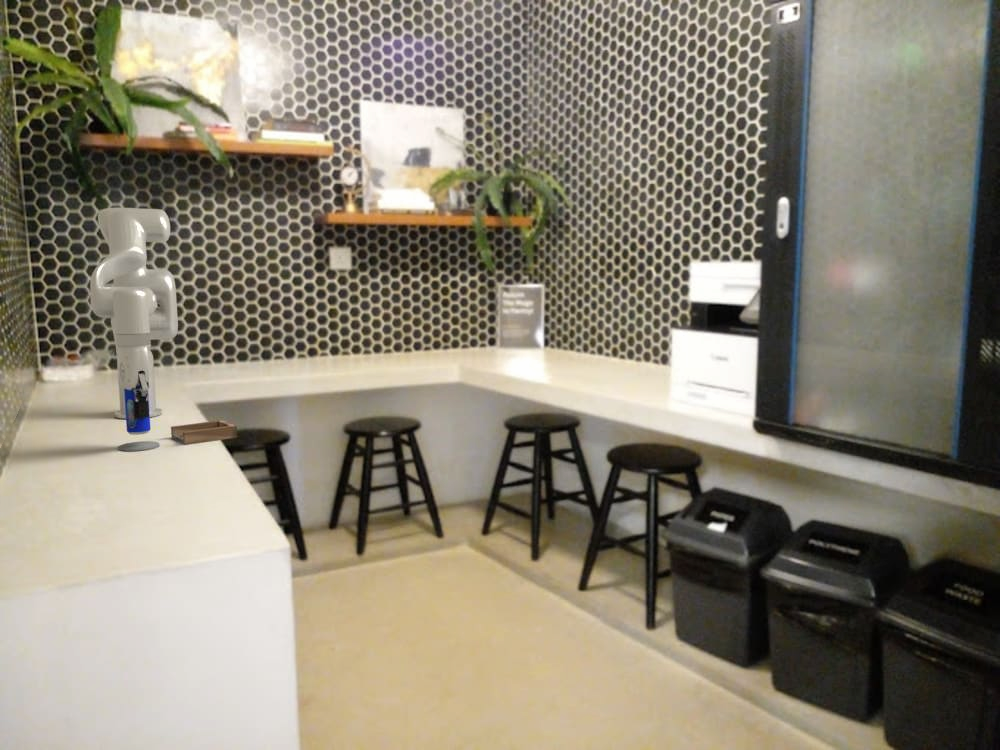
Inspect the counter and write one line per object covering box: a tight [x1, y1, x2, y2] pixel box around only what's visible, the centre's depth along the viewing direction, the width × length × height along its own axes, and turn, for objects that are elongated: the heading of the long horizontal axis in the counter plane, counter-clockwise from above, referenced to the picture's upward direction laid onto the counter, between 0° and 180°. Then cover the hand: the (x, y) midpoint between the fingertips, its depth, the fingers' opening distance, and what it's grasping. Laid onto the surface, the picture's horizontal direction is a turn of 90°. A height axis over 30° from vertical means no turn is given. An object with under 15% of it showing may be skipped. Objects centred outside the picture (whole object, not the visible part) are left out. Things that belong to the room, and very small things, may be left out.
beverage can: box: [124, 381, 151, 436], centre depth 180 cm, size 5×5×15 cm
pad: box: [117, 440, 160, 453], centre depth 181 cm, size 9×9×1 cm
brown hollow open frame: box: [170, 419, 238, 446], centre depth 191 cm, size 10×13×3 cm
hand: (137, 415), depth 181 cm, fingers closed on beverage can, 5 cm apart
